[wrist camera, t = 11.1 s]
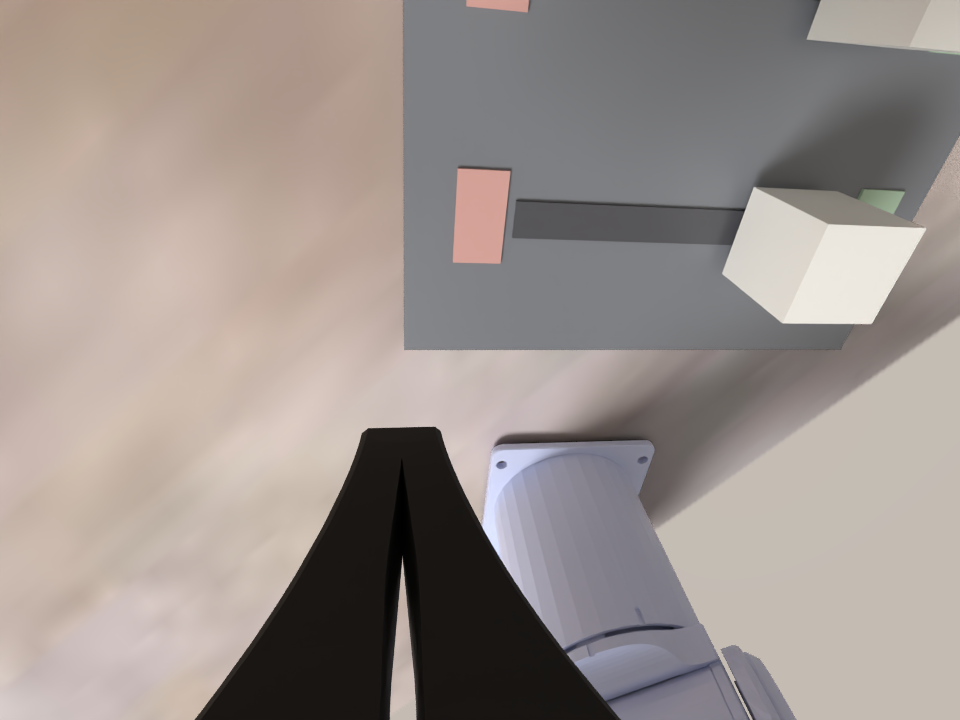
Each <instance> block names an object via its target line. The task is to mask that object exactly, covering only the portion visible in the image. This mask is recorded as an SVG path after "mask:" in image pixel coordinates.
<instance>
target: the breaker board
mask: <svg viewBox="0 0 960 720" xmlns="http://www.w3.org/2000/svg"><path fill="white" fill-rule="evenodd" d="M820 1H821V0H403V103H404V350H841V348H842V346H843V344H844V342H845V341H846V339H847V337H848V335H849V333H850V332H851V330H852V328H853V326H854V324H791V323H781V322H780V321H779V320H778V319H776V318H775V317H774V316H773V315H772V314H770V313H769V312H768V311H767V310H765V309H764V308H763V307H762V306H761V305H759V304H758V303H757V302H756V301H755V300H753V299H752V298H751V297H750V296H748V295H747V294H746V293H745V292H744V291H742V290H741V289H740V288H739V287H737V286H736V285H735V284H734V283H733V282H731V281H730V280H729V279H728V278H727V277H725V276H724V275H723V274H722V272H723V269H724V267H725V264H726V261H727V258H728V256H729V253H730V250H731V248H732V245H733V242H734V239H735V237H736V234H737V231H738V229H739V226H740V223H741V220H742V218H743V215H744V212H745V210H746V207H747V204H748V201H749V199H750V196H751V193H752V191H753V188H754V187H765V188H784V189H804V190H824V191H838V192H840V193H843V194H845V195H848V196H850V197H852V198H855V199H857V200H860V201H862V202H865V203H867V204H869V205H872V206H874V207H877V208H879V209H881V210H884V211H886V212H889V213H891V214H894V215H896V216H898V217H901V218H903V219H906V220H908V221H910V222H912V220H913V218H914V216H915V215H916V213H917V211H918V209H919V207H920V206H921V204H922V202H923V200H924V198H925V197H926V195H927V193H928V191H929V190H930V188H931V186H932V184H933V182H934V181H935V179H936V177H937V175H938V173H939V172H940V170H941V168H942V166H943V164H944V163H945V161H946V159H947V157H948V155H949V154H950V152H951V150H952V148H953V146H954V145H955V143H956V141H957V139H958V137H959V136H960V53H949V52H936V51H923V50H910V49H897V48H887V47H877V46H867V45H857V44H847V43H837V42H826V41H816V40H806V39H807V37H808V34H809V31H810V28H811V26H812V23H813V20H814V17H815V15H816V12H817V9H818V7H819V4H820Z"/></svg>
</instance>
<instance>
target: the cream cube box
mask: <svg viewBox="0 0 960 720" xmlns="http://www.w3.org/2000/svg"><path fill="white" fill-rule="evenodd" d="M806 40H816V41H826V42H837V43H847V44H857V45H867V46H877V47H887V48H897V49H910V50H923V51H936V52H949V53H960V0H821V1H820V4H819V7H818V9H817V12H816V15H815V17H814V20H813V23H812V26H811V28H810V31H809V34H808V37H807V39H806Z"/></svg>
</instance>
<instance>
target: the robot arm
mask: <svg viewBox="0 0 960 720" xmlns="http://www.w3.org/2000/svg"><path fill="white" fill-rule="evenodd" d="M654 452H655V448H654V446H653V444H652V443H651V442H650V441H648V440H631V441H596V442H560V443H525V444H501V445H497V446H495V447H494V448H493V449H492V451H491V457H490V465H489V473H488V481H487V489H486V497H485V505H484V513H483V522H482V526H481V524H480V522H479V520H478V518H477V516H476V515H475V513H474V511H473V509H472V507H471V505H470V503H469V501H468V499H467V497H466V495H465V493H464V491H463V489H462V487H461V485H460V483H459V480H458V478H457V476H456V473H455V471H454V469H453V467H452V464H451V461H450V459H449V456H448V454H447V451H446V448H445V445H444V442H443V438H442V434H441V431H440V430H438V429H437V428H436V427H406V428H368V429H367V430H366V431H364V432H363V433H362V435H361V439H360V443H359V446H358V449H357V452H356V455H355V458H354V460H353V463H352V466H351V468H350V471H349V473H348V475H347V477H346V480H345V482H344V484H343V487H342V489H341V491H340V493H339V495H338V497H337V499H336V501H335V503H334V505H333V507H332V509H331V511H330V513H329V515H328V517H327V519H326V521H325V523H324V525H323V527H322V529H321V531H320V533H319V535H318V536H317V538H316V540H315V542H314V543H313V545H312V547H311V549H310V550H309V552H308V554H307V556H306V557H305V559H304V561H303V563H302V565H301V566H300V568H299V570H298V572H297V573H296V575H295V577H294V578H293V580H292V582H291V583H290V585H289V586H288V588H287V590H286V591H285V593H284V594H283V596H282V598H281V599H280V601H279V602H278V604H277V605H276V607H275V608H274V610H273V612H272V613H271V615H270V616H269V618H268V619H267V621H266V622H265V624H264V625H263V626H262V628H261V629H260V631H259V632H258V634H257V635H256V637H255V638H254V640H253V641H252V643H251V644H250V646H249V647H248V648H247V650H246V651H245V652H244V654H243V655H242V657H241V658H240V659H239V661H238V662H237V664H236V665H235V666H234V668H233V669H232V671H231V672H230V673H229V675H228V676H227V677H226V679H225V680H224V682H223V683H222V684H221V686H220V687H219V689H218V690H217V691H216V693H215V694H214V695H213V697H212V698H211V699H210V701H209V702H208V703H207V704H206V706H205V707H204V708H203V710H202V711H201V712H200V714H199V715H198V716H197V718H196V719H195V720H390V697H391V680H392V668H393V657H394V646H395V635H396V624H397V612H398V601H399V590H400V579H401V567H402V556H403V565H404V576H405V586H406V596H407V607H408V617H409V627H410V637H411V648H412V658H413V668H414V678H415V694H416V715H417V716H416V717H417V720H750V719H749V717H748V715H747V713H746V711H745V709H744V707H743V705H742V703H741V701H740V699H739V697H738V695H737V693H736V691H735V689H734V686H733V685H732V682H731V680H730V678H729V676H728V674H727V672H726V670H725V668H724V666H723V664H722V662H721V660H720V658H719V656H718V654H717V652H716V650H715V649H714V646H713V644H712V642H711V640H710V638H709V636H708V634H707V632H706V630H705V628H704V626H703V625H702V624H700V623H699V621H698V619H697V616H696V614H695V613H694V610H693V608H692V606H691V604H690V602H689V600H688V598H687V596H686V594H685V592H684V590H683V588H682V586H681V583H680V582H679V579H678V577H677V575H676V573H675V571H674V569H673V567H672V565H671V563H670V561H669V559H668V557H667V555H666V553H665V551H664V548H663V546H662V544H661V542H660V541H659V538H658V536H657V534H656V532H655V530H654V528H653V526H652V524H651V522H650V520H649V518H648V516H647V513H646V511H645V509H644V507H643V505H642V503H641V501H640V499H639V497H638V496H639V493H640V490H641V487H642V485H643V482H644V479H645V477H646V474H647V471H648V468H649V466H650V463H651V460H652V457H653V455H654ZM640 457H641V458H640ZM500 461H504V462H502V463H498V462H500ZM721 651H722V653H723V655H724V657H725V659H726V661H727V663H728V665H729V668H730V670H731V671H732V674H733V675H734V678H735V679H736V681H734V682H735V684H736V686H737V688H738V691H739V693H740V695H741V697H742V699H743V701H744V703H745V704H746V707H747V709H748V711H749V713H750V715H751V717H752V719H753V720H796V718H795V716H794V715H793V713H792V711H791V709H790V708H789V706H788V704H787V702H786V701H785V699H784V697H783V695H782V694H781V692H780V690H779V688H778V687H777V685H776V683H775V682H774V680H773V678H772V677H771V675H770V673H769V672H768V670H767V669H766V667H765V666H764V664H763V663H762V661H761V660H760V659H759V658H757V657H755V656H753V655H750V654H748V653H746V652H744V653H743V652H742V650H741V649H740V648H739V647H738V646H735V645H731V646H729V647H726V648H723V649H721Z"/></svg>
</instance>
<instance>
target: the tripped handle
mask: <svg viewBox="0 0 960 720" xmlns="http://www.w3.org/2000/svg"><path fill="white" fill-rule="evenodd" d="M926 229H927V228H925V227H923V226H920V225H918V224H915V223H913V222H910V221H908V220H906V219H903V218H901V217H898V216H896V215H894V214H891V213H889V212H886V211H884V210H881V209H879V208H877V207H874V206H872V205H869V204H867V203H865V202H862V201H860V200H857V199H855V198H852V197H850V196H848V195H845V194H843V193H840V192H838V191H824V190H804V189H784V188H765V187H754V188H753V191H752V193H751V196H750V199H749V201H748V204H747V207H746V210H745V212H744V215H743V218H742V220H741V223H740V226H739V229H738V231H737V234H736V237H735V239H734V242H733V245H732V248H731V250H730V253H729V256H728V258H727V261H726V264H725V267H724V269H723V272H722V274H723V275H724V276H725V277H727V278H728V279H729V280H730V281H731V282H733V283H734V284H735V285H736V286H737V287H739V288H740V289H741V290H742V291H744V292H745V293H746V294H747V295H748V296H750V297H751V298H752V299H753V300H755V301H756V302H757V303H758V304H759V305H761V306H762V307H763V308H764V309H765V310H767V311H768V312H769V313H770V314H772V315H773V316H774V317H775V318H776V319H778V320H779V321H780V322H781V323H791V324H872V322H873V321H874V319H875V317H876V315H877V314H878V312H879V310H880V308H881V307H882V305H883V303H884V302H885V300H886V298H887V296H888V295H889V293H890V291H891V289H892V288H893V286H894V284H895V282H896V281H897V279H898V277H899V276H900V274H901V272H902V270H903V269H904V267H905V265H906V263H907V262H908V260H909V258H910V256H911V255H912V253H913V251H914V250H915V248H916V246H917V244H918V243H919V241H920V239H921V237H922V236H923V234H924V232H925V230H926Z"/></svg>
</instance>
